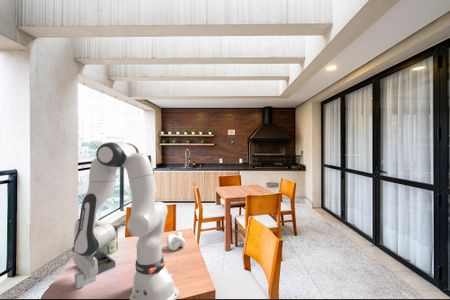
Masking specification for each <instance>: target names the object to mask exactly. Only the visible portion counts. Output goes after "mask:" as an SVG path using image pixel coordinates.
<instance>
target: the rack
mask: <svg viewBox="0 0 450 300" xmlns="http://www.w3.org/2000/svg"><path fill="white" fill-rule="evenodd" d="M93 256H94V257H95V258H96V259H97V265H98V273H97V275H100V274H102V273H104V272H107V271H109V270H112V269H113V268H116V260H114V259H112V257H110V256H109V255H106V254H105V253H103V252H102V248H100V249H98V250H97V251H96V253H95V254H93ZM97 275H96V276H97Z"/></svg>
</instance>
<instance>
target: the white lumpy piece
mask: <svg viewBox="0 0 450 300" xmlns="http://www.w3.org/2000/svg"><path fill="white" fill-rule="evenodd" d="M182 235H183V234H182V232H181V231H178V232H176V233H175V234H174V233H169V234H168V235H167V237H166V246H167V247H168V249H169V250H170V251H176V250H178V249H179V247H180V248H183V247H184V246H186V240H185V238H183V237H182Z"/></svg>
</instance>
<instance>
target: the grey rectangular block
mask: <svg viewBox="0 0 450 300" xmlns="http://www.w3.org/2000/svg"><path fill="white" fill-rule="evenodd" d="M85 276H86V275H85V273H84V272H83V271H79V272H76V273H74V287H75V289H76V290H78V289H81V288H83V287H85V286H88V285H89V284H92V283H94V282H96V281H97V275H95V276H93V277H91V278H90V280H89V281H87V282H86V281H85Z"/></svg>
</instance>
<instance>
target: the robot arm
mask: <svg viewBox="0 0 450 300" xmlns="http://www.w3.org/2000/svg"><path fill="white" fill-rule="evenodd" d="M95 155H96V156H95V157H96V158H94V159H93V160H91V164H90V168H89V173H88V174H89V176H88V186H87V187H88V188H87V191H86V194H85V196H84V198H83V200H82V203H81V206H80V207H81V208H80V212H79V213H80V214H79V218H78V219H77V220H76V221H75V224H74V227H73V228H74V230H73V231H74V233H73V236H74V237H73V238H74V241H73V246H72V247H71V251H72V253H73V263H74V264H75V266H76V267H78V269H79V272H81V271H83V272H84V273H85V275H86V276H85V281H86V282H87V281H89V280H90V278H91V277H93V276H95V275H96V276H97V273H98V265H97V259H96V258H95V257H94V256H93V254H95V253H96V251H97V250H98V249H100V248H101V247H103V246H104V245H106V244H107V243H108V242H110V241H111V240H112V239H113V238H114V237H115V228H114V226H115V225H113V224H111V223H110V222H105V221H101V220H99V219H98V218H97V214H98V211H99V209H100V207H101V206H102V205H103V204H104V203H105V202H106V201H107V200H109V198H111V197H112V196H113V194H114V193H115V191H116V186H117V179H116V178H117V170H118V168H121V167H123V168H124V169H125V170H126V174H127V178H128V184H129V189H130V195H131V206H130V214H129V215H130V216H129V218H128V221H127V224H126V225H127V226H126V228H127V230H128V232H129V234H130V235H132V236H133V237H138V240H137V242H136V259H135V270H136V271H135V273H134V276H133V279H132V289H131V294H130V295H129V300H177V299H178V297H179V296H180V295H181V294H180V293H181V291H180V290H179V288H178V287H176V285H175V282H174V275H173V273H172V272H171V273H169V271H168V268H167V267H166V266H165V265H166V262H165V260H164V256H163V237H164V231H165V225H166V219H167V216H168V212H169V210H168V209H169V208H168V206H167V204H166V203H164V202H163V201H156V195H157V189H158V188H157V183H156V180H155V174H154V170H153V167H152V164H151V161H150V158H149V157H148V155H147V154H145V153H144V152H139V149H138V147H137V146H135V145H134V144H132V143H129V142H127V143H126V142H121V141H119V142H111V141H110V142H106V143H103V144H101V145H100V146H99V147H98V148H97V150H96V154H95Z"/></svg>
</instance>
